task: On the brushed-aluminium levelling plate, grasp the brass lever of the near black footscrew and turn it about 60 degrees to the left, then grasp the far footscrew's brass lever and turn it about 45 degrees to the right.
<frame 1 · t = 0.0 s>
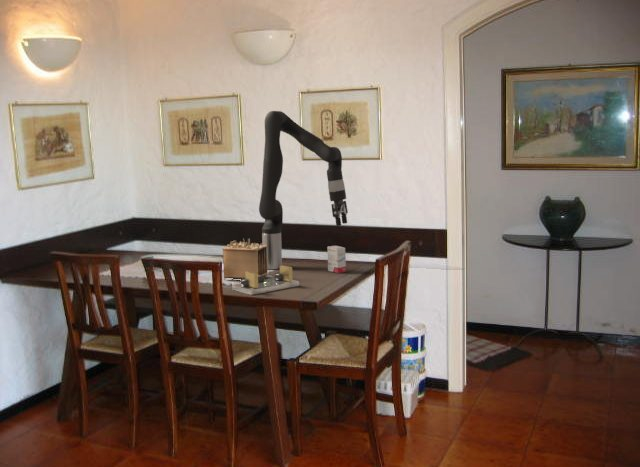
hand: (341, 224, 341), 22 cm above the table, tool pointing down, fingers open, 8 cm apart
levelling plate: (265, 287, 313), on the table
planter: (245, 279, 332), on the table
far footscrew: (283, 272, 317), point 5 cm above the table, hinge at 0.0°
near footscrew: (249, 278, 305), point 5 cm above the table, hinge at 0.0°
ink box: (336, 272, 345), on the table
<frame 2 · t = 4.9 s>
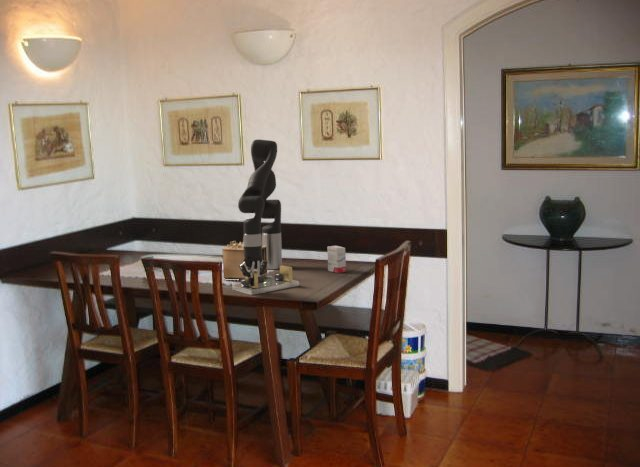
hand: (253, 285, 303), 3 cm above the table, tool pointing down, fingers closed on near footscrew, 2 cm apart
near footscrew: (249, 278, 305), point 5 cm above the table, hinge at 0.0°, touching gripper
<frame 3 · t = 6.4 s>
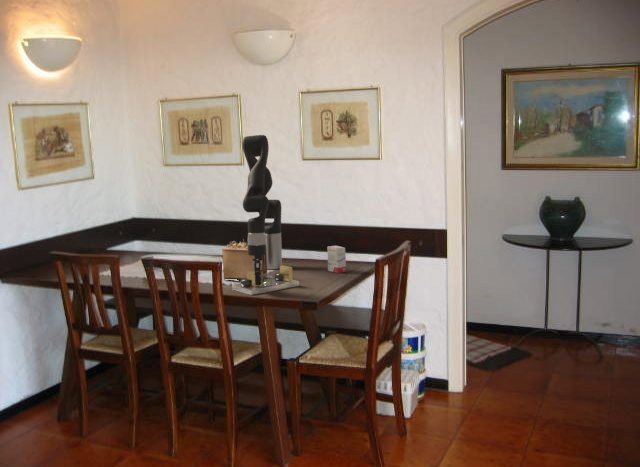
hand: (257, 284, 306), 3 cm above the table, tool pointing down, fingers closed on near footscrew, 2 cm apart
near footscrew: (251, 278, 306), point 5 cm above the table, hinge at 36.5°, touching gripper
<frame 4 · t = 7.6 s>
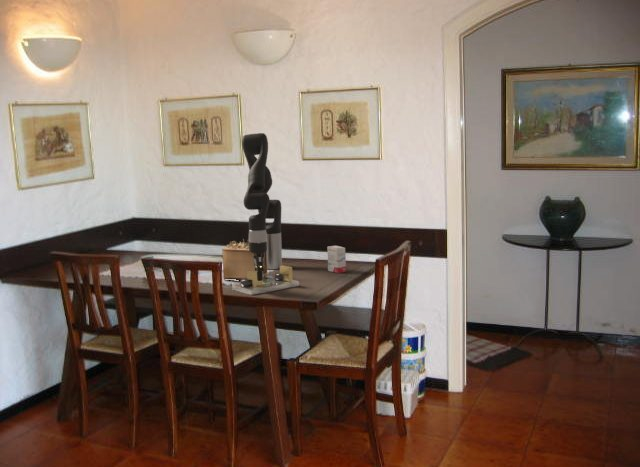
hand: (258, 278, 308), 5 cm above the table, tool pointing down, fingers open, 8 cm apart
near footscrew: (251, 278, 307), point 5 cm above the table, hinge at 49.1°
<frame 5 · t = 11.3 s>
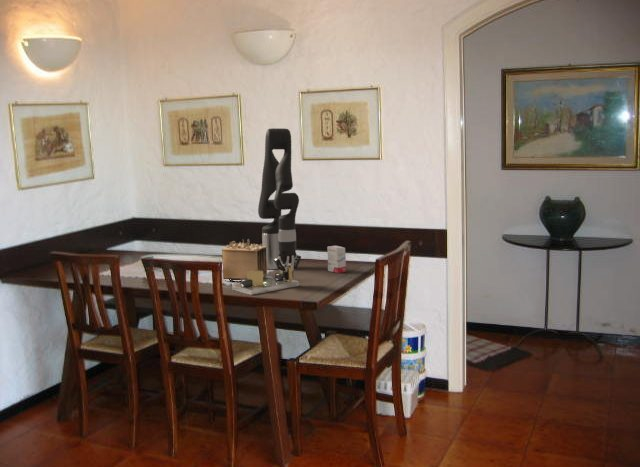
hand: (288, 279, 315), 3 cm above the table, tool pointing down, fingers closed on far footscrew, 2 cm apart
far footscrew: (283, 272, 317), point 5 cm above the table, hinge at 0.0°, touching gripper
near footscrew: (251, 278, 307), point 5 cm above the table, hinge at 49.6°
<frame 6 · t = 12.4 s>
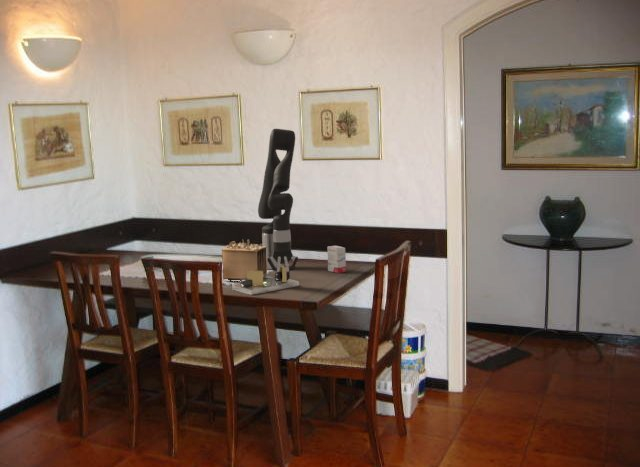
hand: (283, 279, 314), 3 cm above the table, tool pointing down, fingers closed on far footscrew, 2 cm apart
far footscrew: (282, 273, 316), point 5 cm above the table, hinge at -25.1°, touching gripper
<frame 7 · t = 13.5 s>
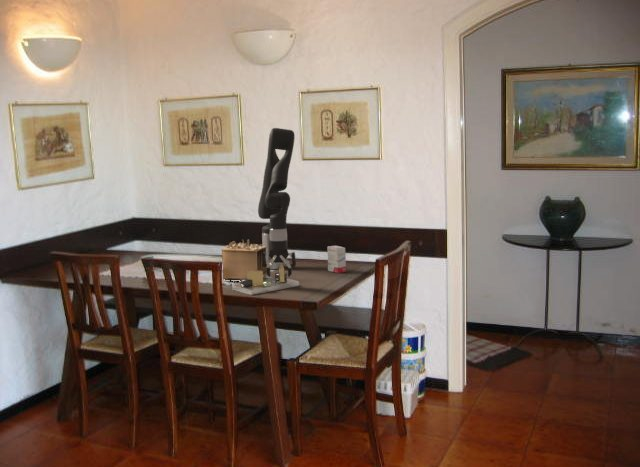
hand: (279, 276, 314), 4 cm above the table, tool pointing down, fingers open, 8 cm apart
far footscrew: (281, 273, 316), point 5 cm above the table, hinge at -33.3°
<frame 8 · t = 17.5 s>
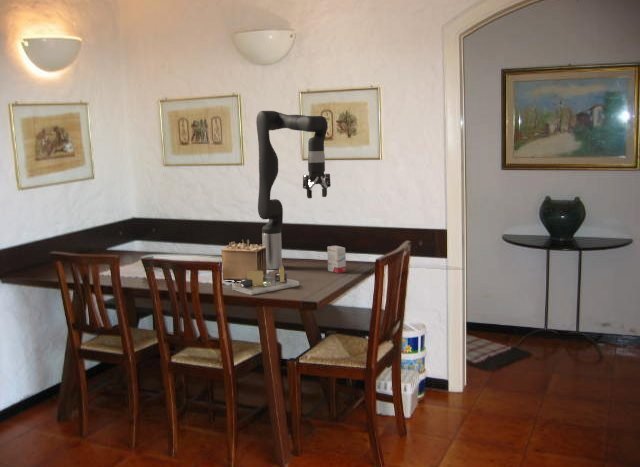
hand: (317, 197, 329), 36 cm above the table, tool pointing down, fingers open, 8 cm apart
far footscrew: (281, 273, 316), point 5 cm above the table, hinge at -33.7°
at the end: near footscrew at +50° (first picture: +0°); far footscrew at -34° (first picture: +0°); the gripper is holding nothing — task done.
